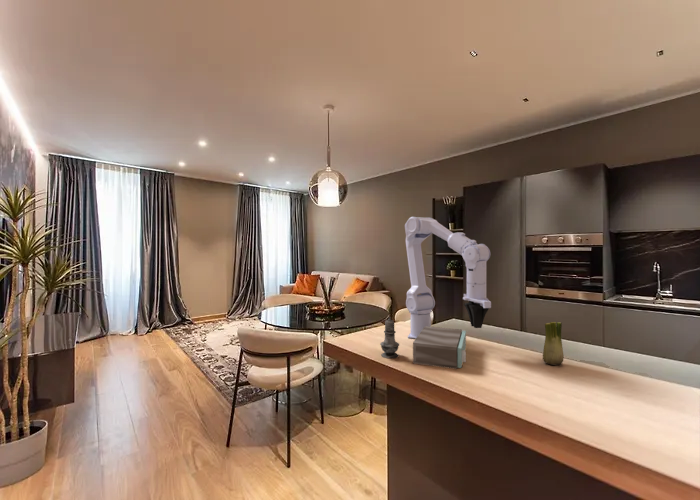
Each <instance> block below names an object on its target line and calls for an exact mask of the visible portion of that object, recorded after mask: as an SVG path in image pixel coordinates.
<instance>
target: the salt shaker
mask: <svg viewBox="0 0 700 500" xmlns="http://www.w3.org/2000/svg"><path fill="white" fill-rule="evenodd" d="M383 333H384V341H380V343H379V345H380V347H381V350H382V351H383V352H382V353H381V354H380V355H381V357H382V358H384V359H390V360H391V359H392V360H393V359H396V358H399V354H398V353H397V351H398V349H399V346H400V343H399V342H397V341H396V337H395V335H396V330H395V321H394V320H392V319H391V317H390V316H388V319H386V320H385V322H384V331H383Z"/></svg>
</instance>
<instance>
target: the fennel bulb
mask: <svg viewBox="0 0 700 500" xmlns="http://www.w3.org/2000/svg"><path fill="white" fill-rule="evenodd" d="M562 323H563V322H560V321H557V322H556V321H553V322H552V321H550V322H547V323H544V330H545V331H544V333H545V334H544V335H545V337H544V338H545V340H544V343H543V352H542V361H543V362H544V363H546V364H548V365H550V366H551V365H552V366H557V365H558V366H559V365H562V364H563V362H564V360H565V357H564V355H565V354H564V351H563V350H564V349H563V348H564V347H563V340H562V327H563V326H562V325H563V324H562Z"/></svg>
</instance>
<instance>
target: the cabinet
mask: <svg viewBox="0 0 700 500" xmlns="http://www.w3.org/2000/svg"><path fill="white" fill-rule="evenodd" d="M462 331H463V329H459V328H448V327H438V326H437V327H436V326H431V327H429V326H425V327H424V328H423V329H422V331H421V332H420V334H419V335H418V336H417V338H416V339H415V338H414V340H413V341H412V364H415V365H423V366H430V367H431V366H432V367H437V368H438V367H439V368H443V369H444V368H445V369H453V370H457V369H458V368H457V348H458V344H459V341H460V338H461V334H462Z"/></svg>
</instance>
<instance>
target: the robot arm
mask: <svg viewBox="0 0 700 500" xmlns="http://www.w3.org/2000/svg"><path fill="white" fill-rule="evenodd" d="M404 230H405V231H404V232H405V247H406V248H405V249H406V255H407V264H408V270H409V279H410V288H409V289H408V290H407V292H406V300H405V306H406V309H407V311H408V313H410V333H409V334H408V335H407V338H408V339H414V340H415V339H416V338H417V336H418V335H419V334H420V332H421V331H422V329H423V328H424V327H425V326H429V327H432V317H431V313H432V312H433V309H434V308H435V305H436V301H435V297H434V296H433V292H432V289H431V288H429V287H428V286H427V282H426V275H425V268H424V267H425V266H424V259H423V252H422V243H423V242H424V241H425V240H426V239H427V238H428V237H430V236H431V235H432V234H433V235H435V236H436V237H438V238H441V240H444V242H445V241H446V242H447V247H449V248H450V249H452V250H453V251H454V252H456V253H458V254H459V255H460V256H462V258H463V261H464V262H465V267H466V293H463V297H462V300H464V301H468V302H465V303H464V304H463V305H464V307H465V310H466V311H467V314H468V318H469V321H470V322H469V323H470V326H471V327H473V328H474V329H482V327H483V324H484V320H485V316H486V314H487V313H488V311H489V310H490V309H491V308H492V301H490V300H489V298H488V297H487V262H488V260H490V258H491V250H490V248H489V247H488V246H487V245H486V244H485V243H479V244H478V243H477V240H475V239H471V238H469V237H467V236H466V233H464V232H458V231H457V232H453V231H451V230H450V229H448V228H447V227H445V226H444V225H443V224H441V223H439V222H438V220H437V219H434V218H432V217H422V216H421V217H419V216H417V217H416V216H410V217H409V218H408V219H407V221H406V222H405V224H404Z"/></svg>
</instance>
